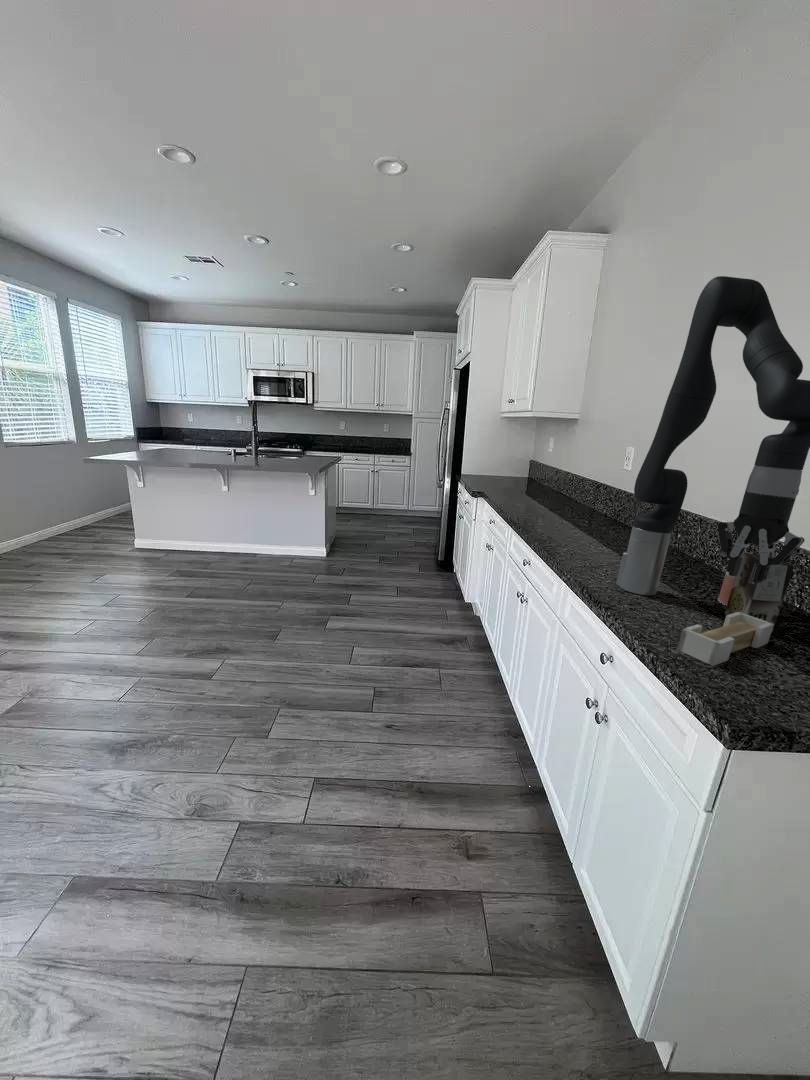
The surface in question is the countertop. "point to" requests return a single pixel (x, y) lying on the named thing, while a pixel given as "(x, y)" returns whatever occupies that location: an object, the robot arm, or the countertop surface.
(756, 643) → the end cap
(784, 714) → the countertop surface
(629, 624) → the countertop surface
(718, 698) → the countertop surface
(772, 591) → the coffee box
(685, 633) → the end cap
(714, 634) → the oak bar
